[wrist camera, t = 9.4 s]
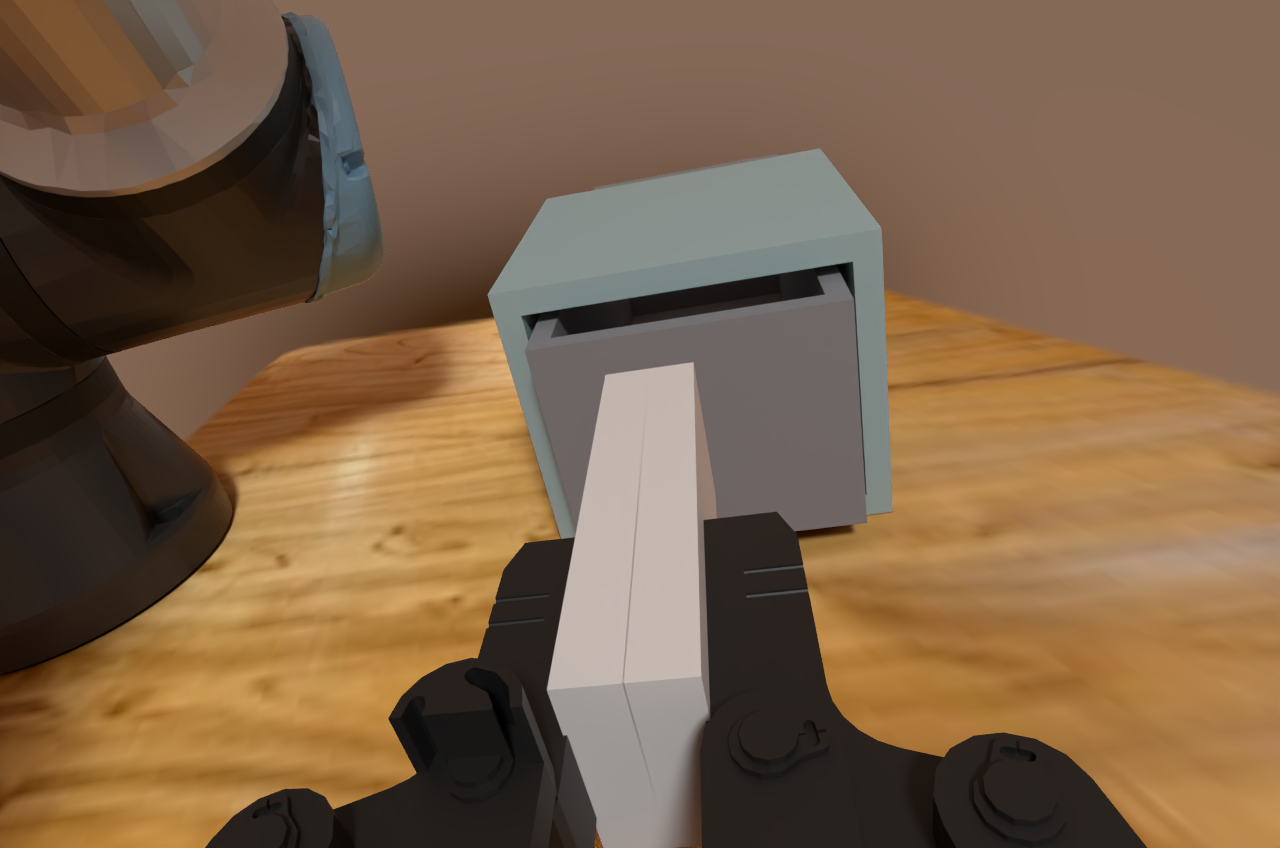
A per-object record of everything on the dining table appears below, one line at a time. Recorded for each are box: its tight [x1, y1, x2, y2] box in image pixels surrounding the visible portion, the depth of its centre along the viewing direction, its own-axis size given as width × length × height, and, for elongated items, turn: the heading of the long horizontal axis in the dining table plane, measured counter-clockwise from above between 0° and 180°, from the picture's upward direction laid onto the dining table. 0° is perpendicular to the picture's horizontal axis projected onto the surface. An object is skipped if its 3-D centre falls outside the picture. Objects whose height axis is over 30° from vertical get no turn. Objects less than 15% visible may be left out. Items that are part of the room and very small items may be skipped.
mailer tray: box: [525, 154, 867, 531], centre depth 39 cm, size 24×11×9 cm, turn 177°
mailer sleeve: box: [488, 149, 893, 539], centre depth 36 cm, size 14×14×12 cm
